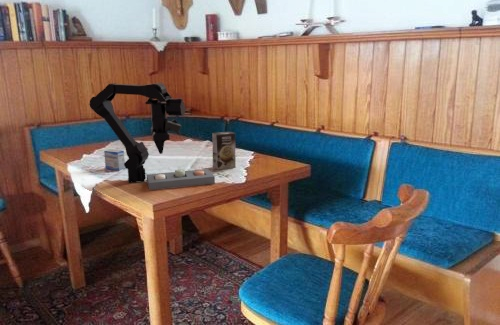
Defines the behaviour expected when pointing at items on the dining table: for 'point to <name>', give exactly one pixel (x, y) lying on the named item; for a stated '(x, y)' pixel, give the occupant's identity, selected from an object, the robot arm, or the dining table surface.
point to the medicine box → (114, 159)
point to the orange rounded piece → (199, 173)
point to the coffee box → (223, 150)
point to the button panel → (180, 180)
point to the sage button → (179, 173)
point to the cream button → (159, 176)
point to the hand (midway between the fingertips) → (161, 153)
